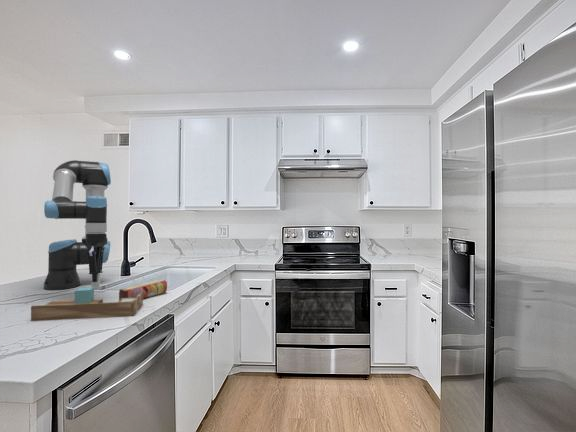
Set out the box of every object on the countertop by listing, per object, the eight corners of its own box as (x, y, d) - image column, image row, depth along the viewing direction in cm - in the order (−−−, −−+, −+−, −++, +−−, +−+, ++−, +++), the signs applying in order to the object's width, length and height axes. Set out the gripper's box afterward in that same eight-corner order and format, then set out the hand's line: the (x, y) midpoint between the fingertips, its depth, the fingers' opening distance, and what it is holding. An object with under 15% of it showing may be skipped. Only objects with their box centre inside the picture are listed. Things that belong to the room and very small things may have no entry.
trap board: (52, 308, 127) (52, 295, 127) (142, 304, 134) (142, 292, 134) (30, 320, 112) (31, 306, 112) (133, 315, 119) (133, 302, 119)
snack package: (127, 304, 134) (127, 288, 134) (117, 302, 137) (117, 286, 137) (167, 293, 153) (168, 279, 153) (158, 292, 156) (158, 278, 156)
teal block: (80, 300, 128) (80, 287, 128) (94, 299, 129) (94, 287, 129) (74, 303, 123) (74, 290, 123) (89, 303, 124) (89, 290, 124)
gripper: (92, 232, 142) (91, 286, 142) (80, 233, 129) (79, 293, 129) (111, 232, 143) (110, 285, 143) (100, 233, 130) (100, 292, 130)
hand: (95, 289), depth 136 cm, fingers closed
